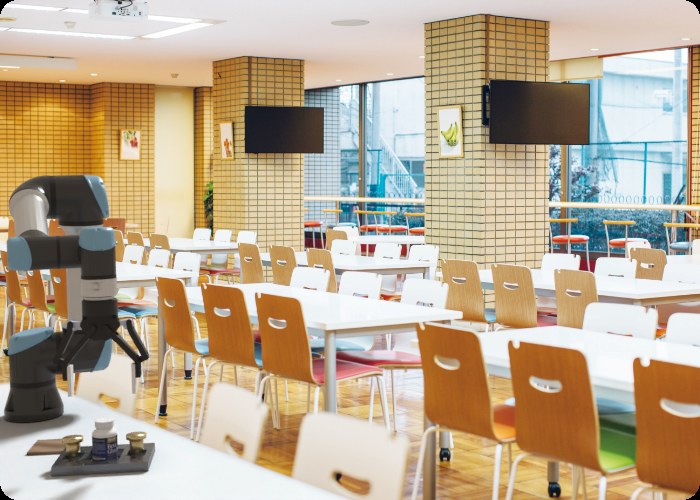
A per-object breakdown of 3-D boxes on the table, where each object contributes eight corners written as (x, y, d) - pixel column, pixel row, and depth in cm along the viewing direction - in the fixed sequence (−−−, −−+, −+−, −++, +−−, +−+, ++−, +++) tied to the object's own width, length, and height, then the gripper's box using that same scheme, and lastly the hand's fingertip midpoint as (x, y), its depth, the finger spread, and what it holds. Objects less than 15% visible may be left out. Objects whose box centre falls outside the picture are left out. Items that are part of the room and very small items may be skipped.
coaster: (37, 442, 202) (37, 439, 201) (80, 440, 203) (80, 437, 203) (26, 455, 192) (26, 452, 192) (72, 452, 193) (71, 450, 193)
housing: (65, 455, 191) (65, 447, 191) (155, 451, 193) (154, 442, 193) (51, 476, 177) (51, 467, 177) (148, 471, 179) (147, 461, 179)
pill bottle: (111, 467, 182) (109, 423, 181) (88, 466, 183) (86, 422, 182) (122, 460, 187) (121, 417, 186) (100, 458, 188) (98, 416, 188)
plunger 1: (65, 452, 186) (64, 435, 186) (85, 450, 186) (85, 434, 186) (61, 458, 182) (60, 441, 181) (81, 457, 182) (81, 439, 182)
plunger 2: (127, 448, 188) (127, 432, 187) (148, 447, 188) (147, 431, 188) (125, 454, 183) (124, 437, 183) (145, 453, 184) (145, 436, 184)
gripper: (35, 301, 177) (40, 400, 179) (156, 298, 180) (159, 395, 182) (44, 297, 185) (48, 392, 186) (159, 294, 188) (162, 387, 189)
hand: (103, 393), depth 184 cm, fingers open, 13 cm apart
